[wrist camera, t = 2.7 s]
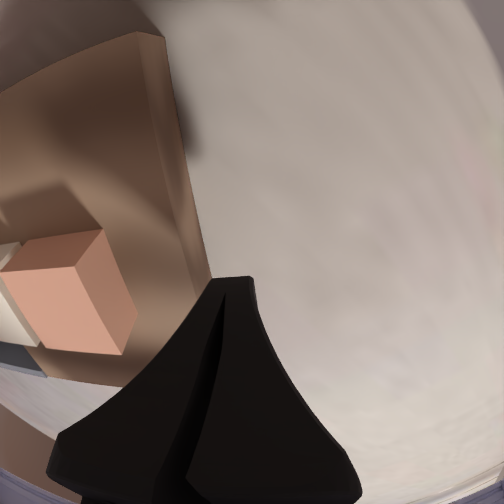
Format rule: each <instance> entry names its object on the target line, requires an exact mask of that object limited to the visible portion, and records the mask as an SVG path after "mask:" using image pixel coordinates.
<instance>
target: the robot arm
mask: <svg viewBox="0 0 504 504" xmlns="http://www.w3.org/2000/svg"><path fill="white" fill-rule="evenodd" d="M46 474H47V475H48V477H49V478H51V479H52V480H53V481H55V482H57V483H58V484H60V485H62V486H64V487H66V488H68V489H70V490H72V491H73V492H75V493H77V494H79V495H81V496H82V500H81V504H354V503H355V502H356V501H357V500H359V498H360V497H361V496H362V487H361V483H360V480H359V478H358V475H357V473H356V471H355V469H354V467H353V465H352V463H351V461H350V459H349V457H348V455H347V453H346V451H345V450H344V449H343V448H342V447H341V445H340V444H339V443H338V442H337V441H336V440H335V439H334V438H333V436H332V435H331V434H330V433H329V432H328V431H327V429H326V428H325V427H324V426H323V425H322V423H321V422H320V421H319V419H318V418H317V417H316V416H315V414H314V413H313V412H312V410H311V409H310V408H309V406H308V405H307V403H306V402H305V400H304V399H303V397H302V396H301V395H300V393H299V392H298V390H297V389H296V387H295V386H294V384H293V383H292V381H291V379H290V378H289V376H288V374H287V373H286V371H285V369H284V367H283V366H282V364H281V362H280V360H279V358H278V356H277V354H276V352H275V350H274V348H273V346H272V344H271V342H270V340H269V337H268V335H267V333H266V330H265V328H264V325H263V323H262V320H261V317H260V314H259V311H258V306H257V300H256V293H255V286H254V279H253V278H252V277H251V276H240V277H225V278H212V279H211V280H210V281H209V282H208V284H207V286H206V287H205V289H204V290H203V292H202V294H201V295H200V297H199V298H198V300H197V301H196V303H195V304H194V306H193V307H192V309H191V310H190V312H189V313H188V315H187V316H186V317H185V319H184V320H183V322H182V323H181V324H180V326H179V327H178V329H177V330H176V331H175V332H174V334H173V335H172V336H171V337H170V339H169V340H168V341H167V343H166V344H165V345H164V346H163V348H162V349H161V350H160V351H159V352H158V353H157V355H156V356H155V357H154V358H153V359H152V360H151V361H150V362H149V363H148V364H147V365H146V366H145V368H144V369H143V370H142V371H141V372H140V373H139V374H137V375H136V376H135V377H134V378H133V379H132V380H131V381H130V382H129V383H128V384H127V385H126V386H125V387H124V388H122V389H121V390H120V391H119V392H118V393H117V394H115V395H114V396H113V397H112V398H110V399H109V400H108V401H107V402H105V403H104V404H103V405H101V406H100V407H99V408H97V409H96V410H95V411H93V412H92V413H90V414H89V415H87V416H86V417H84V418H83V419H81V420H80V421H78V422H76V423H75V424H73V425H72V426H70V427H68V428H67V429H65V430H63V431H62V432H60V433H59V434H58V436H57V439H56V441H55V444H54V447H53V450H52V453H51V456H50V460H49V463H48V466H47V469H46ZM0 504H77V503H74V502H72V501H69V500H67V499H64V498H61V497H59V496H57V495H55V494H52V493H50V492H48V491H45V490H43V489H41V488H39V487H37V486H35V485H32V484H30V483H28V482H27V481H25V480H23V479H20V478H19V477H17V476H15V475H13V474H11V473H9V472H8V471H6V470H4V469H2V468H0ZM449 504H504V478H503V479H502V480H501V481H499V482H497V483H495V484H493V485H491V486H489V487H487V488H485V489H482V490H480V491H478V492H476V493H474V494H471V495H469V496H467V497H464V498H462V499H459V500H457V501H454V502H452V503H449Z"/></svg>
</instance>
